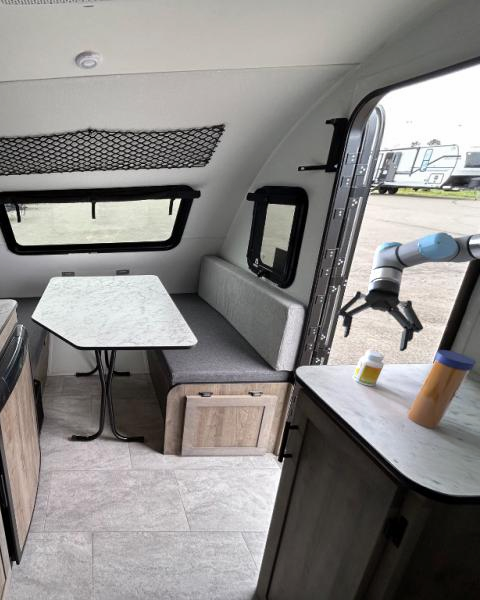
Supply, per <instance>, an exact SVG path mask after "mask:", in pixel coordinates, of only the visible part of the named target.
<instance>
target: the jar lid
mask: <svg viewBox="0 0 480 600" xmlns="http://www.w3.org/2000/svg"><path fill="white" fill-rule="evenodd" d="M434 359H435V360H437V361H438V362H440V363H442V364H444V365H447V366H450V367H453V368H456V369H461V370H469V371H473V370H474V368H475V367H476V364H477V361H476V360H475V359H473V358H471V357H470V356H468V355H465V354H463V353H459V352H455V351H452V350H446V349H438V350H437V351H436V354H435V356H434Z"/></svg>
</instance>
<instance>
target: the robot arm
mask: <svg viewBox="0 0 480 600" xmlns="http://www.w3.org/2000/svg"><path fill="white" fill-rule="evenodd" d="M474 260H480V233H474V234H470V235H465V236H464V235H463V236H460V237H453V236H452V235H451V234H448V233H447V232H437V233H433V234H427V235H425V236H423V237H420V238H418V239H415V240H412V241H409V242H407V243H401V242H397V241H392V242H384V243H382V244H380V245H379V246H377V248H376V251H375V253H374V256H373V264H372V270H371V274H370V279H369V284H368V288H367V293H365V294H364V293H362V292H361V291H360V290H357V291H356V292H355V293H354V295H353V297H352V298H351V299H349V301H348V302H347V303H346V304H345V305H343V306H342V307H341V308H340V309H339V310H338V312H337V313H336V314H337V316H341V317H342V324H341V326H342V327H343V328H345V329H344V334H343V338H348V337H349V335H350V332H351V327H352V322H353V318H354V316H355V315H357V314H359V313H361V312H363V311H366V310H368V309H372V310H373V311H379V312H380V311H381V312H384V313H385V312H387V313H388V315H391V316H392V317H393V318H394V320H395V321H396V322H397V323H398V324H399V325H400V326H401V327H402V329H404V330H403V331H402V332H401V338H400V344H399V352H405V350H407V349H408V345H409V343H410V342H411V341H413V339H414V333H420V332H421V331H422V330H423V329H424V326H423V324H422V323H421V320H420V319H419V317H418V315H417V313H416V311H415V310H414V308H413V302H412V300H411V299H410V300H409V299H407V300H406V301H404V300H400V299H399V298H400V297H399V296H400V290H401V285H402V279H403V273H404V269H407V268H411V267H415V266H419V265H422V264H425V263H458V264H459V263H468V262H471V261H472V262H473V261H474ZM363 299H364V301H365V303H363V304H361V305H359V306H356V307H354V308H352V309H351V310H349V309H350V308H351V307H353V305H354V304H356V303H357V301H361V300H363ZM398 306H400V308H401V309H403V312H404V314H403V312H402V311H401V310H400V308H399V307H398ZM348 310H349V311H348ZM408 342H409V343H408Z"/></svg>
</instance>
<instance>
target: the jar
mask: <svg viewBox="0 0 480 600" xmlns="http://www.w3.org/2000/svg"><path fill="white" fill-rule="evenodd" d="M469 372H470V370H461V369H456V368H453V367H450V366H447V365H444V364H442V363H440V362H438V361H437V360H436V359H435V360H434V362H433V363H432V366H431V368H430V369H429V372H427V373H428V374H427V375H426V377H425V379H424V381H423V384H422V385H421V387H420V389H419V391H418V393H417V394H416V397H415V399H414V400H413V402H412V405H411V407H410V408H409V410H408V412H407V414H406V415H407V419H409V420H410V421H412V422H413V423H415V424H417V425H419V426H422V427H424V428H428V429H437V428H438V427H439V425H440V423H441V422H442V419H443V418H444V417H445V414H446V413H447V411H448V409H449V407H450V405H451V404H452V403H453V400H454V399H455V397H456V395H457V393H458V391H459V390H460V388H461V386H462V384H463V383H464V381H465V379H466V377H467V376H468V374H469Z"/></svg>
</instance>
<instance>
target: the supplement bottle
mask: <svg viewBox="0 0 480 600" xmlns="http://www.w3.org/2000/svg"><path fill="white" fill-rule="evenodd" d="M384 359H385V356H384V354H382V353H381V352H378V351H375V350H366V351H365V354H364V356H361V357H360V358H359V360H358V362H357V365H356V368H355V370H354V373H353V375H352V378H353V380H354V381H355V382H356V383H359V384H361V385H364V386H366V387H367V386H368V387H373V386H375V385H376V383H377V381H378V380H379V377H380V374H381V373H382V370H383V368H384V363H383V360H384Z"/></svg>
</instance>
